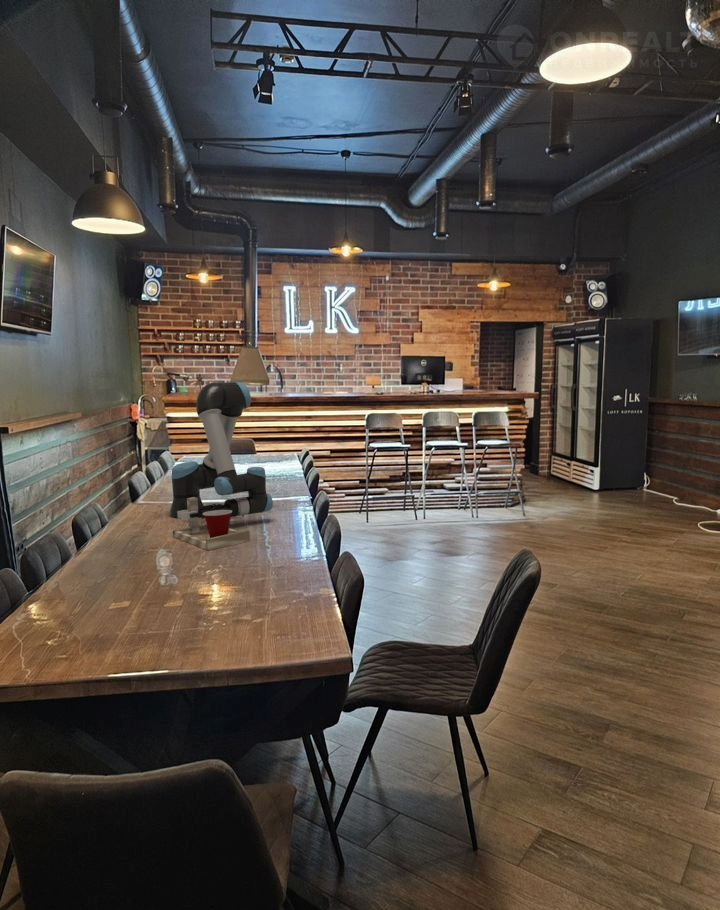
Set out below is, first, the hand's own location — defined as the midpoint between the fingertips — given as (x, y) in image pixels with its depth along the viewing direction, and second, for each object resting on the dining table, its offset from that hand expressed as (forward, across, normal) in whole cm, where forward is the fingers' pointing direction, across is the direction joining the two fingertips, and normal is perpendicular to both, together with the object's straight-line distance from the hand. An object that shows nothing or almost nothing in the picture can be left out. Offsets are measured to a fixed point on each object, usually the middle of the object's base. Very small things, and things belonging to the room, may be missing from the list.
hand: (179, 515), depth 228 cm
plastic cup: (-9, -19, -8) cm, 22 cm away
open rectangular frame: (-8, -12, -8) cm, 16 cm away
